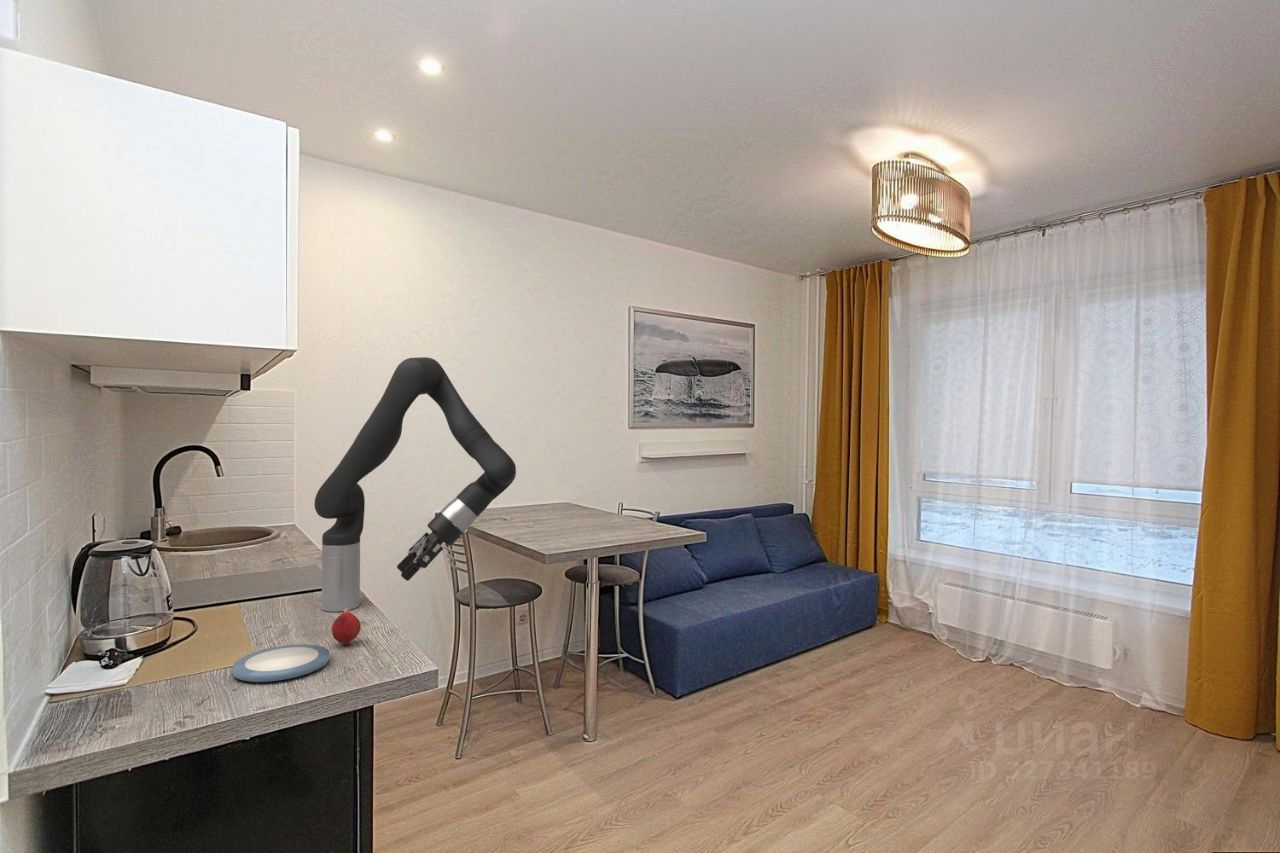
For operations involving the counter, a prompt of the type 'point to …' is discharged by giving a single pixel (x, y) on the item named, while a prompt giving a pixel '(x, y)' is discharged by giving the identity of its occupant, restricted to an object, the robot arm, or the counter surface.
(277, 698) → the counter surface
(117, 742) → the counter surface
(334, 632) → the onion
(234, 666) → the dish
